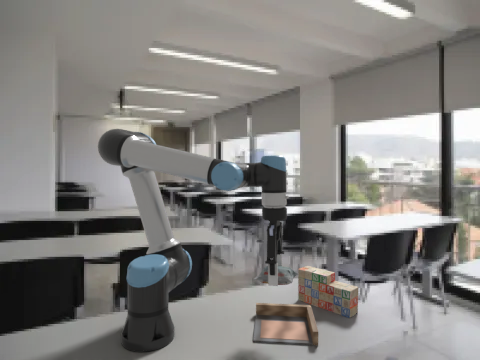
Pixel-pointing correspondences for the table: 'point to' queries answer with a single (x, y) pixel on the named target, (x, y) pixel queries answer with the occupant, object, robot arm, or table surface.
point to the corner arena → (285, 324)
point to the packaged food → (284, 275)
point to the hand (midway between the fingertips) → (275, 279)
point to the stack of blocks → (327, 291)
